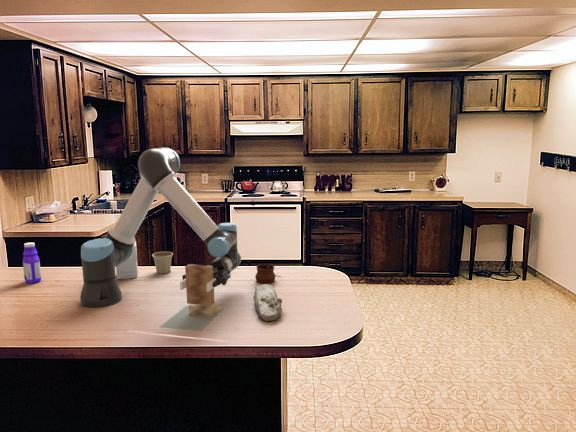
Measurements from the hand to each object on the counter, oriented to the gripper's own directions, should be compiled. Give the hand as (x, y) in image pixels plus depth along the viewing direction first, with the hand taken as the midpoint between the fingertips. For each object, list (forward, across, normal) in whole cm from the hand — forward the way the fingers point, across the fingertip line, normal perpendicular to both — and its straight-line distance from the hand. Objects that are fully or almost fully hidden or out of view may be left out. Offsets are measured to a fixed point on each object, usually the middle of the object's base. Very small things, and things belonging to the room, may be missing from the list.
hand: (194, 286), depth 164 cm
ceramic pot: (-49, -10, -13) cm, 52 cm away
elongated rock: (-22, -19, -13) cm, 32 cm away
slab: (-5, 0, -7) cm, 9 cm away
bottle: (-25, +89, -12) cm, 93 cm away
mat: (-2, +2, -13) cm, 13 cm away
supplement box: (-42, +53, -13) cm, 69 cm away
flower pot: (-51, +40, -13) cm, 66 cm away
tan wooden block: (-8, 0, -12) cm, 14 cm away
